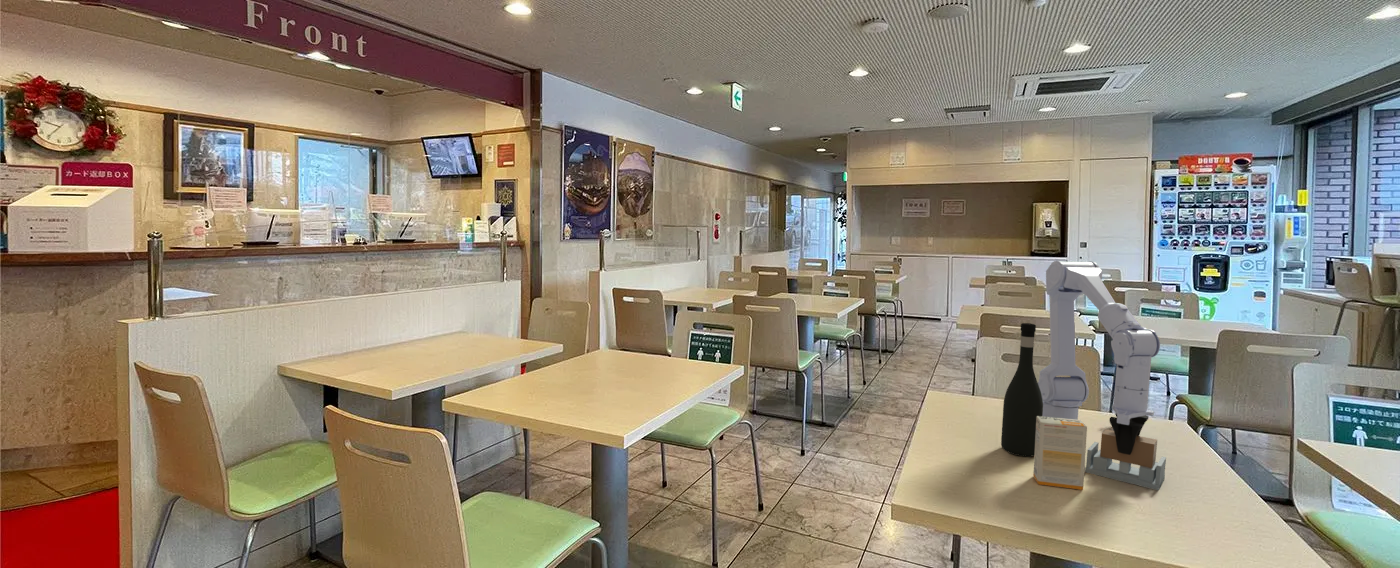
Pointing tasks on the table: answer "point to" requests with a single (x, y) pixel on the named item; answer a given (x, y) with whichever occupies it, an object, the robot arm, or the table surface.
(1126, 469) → the display stand
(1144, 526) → the table surface
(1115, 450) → the brown rectangular block
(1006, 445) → the wine bottle
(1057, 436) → the supplement box
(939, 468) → the table surface
